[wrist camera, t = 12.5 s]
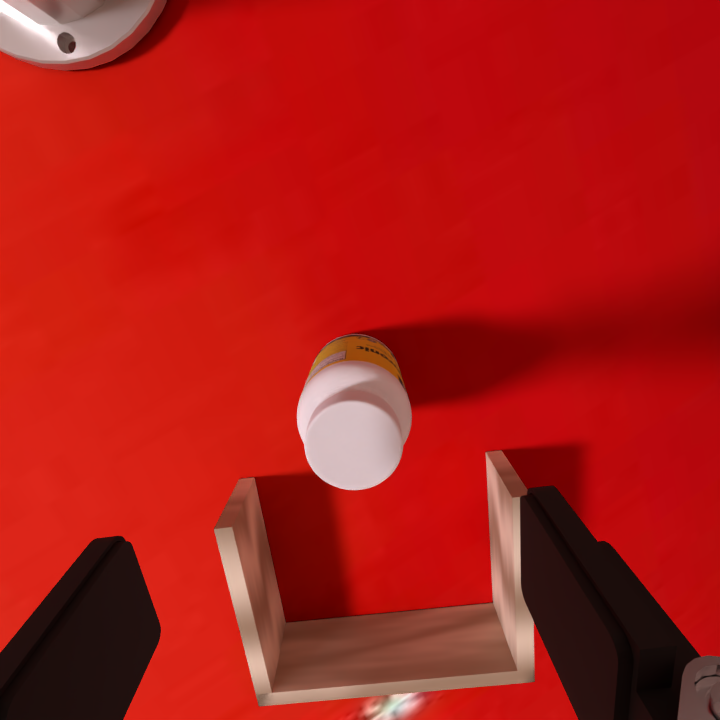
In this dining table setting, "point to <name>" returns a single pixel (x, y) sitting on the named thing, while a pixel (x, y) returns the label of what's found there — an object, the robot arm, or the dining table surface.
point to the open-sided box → (379, 618)
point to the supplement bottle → (354, 413)
